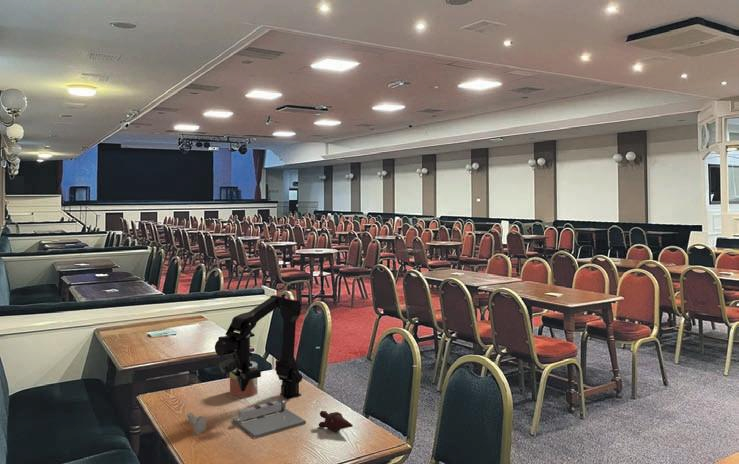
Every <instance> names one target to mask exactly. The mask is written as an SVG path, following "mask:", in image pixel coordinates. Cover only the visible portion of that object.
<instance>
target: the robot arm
mask: <svg viewBox="0 0 739 464" xmlns="http://www.w3.org/2000/svg"><path fill="white" fill-rule="evenodd" d="M277 308H279V312H280V316H281V318H282V321H283V325H282V327H283V328H282V341H281V342H282V343H281V345H282V346H281V356H280V358H279V360H276V361H275V369H274V371H275V372H276V373H275V374H276V376H277V377H278V379H279V380H280V381H281V385H280V393H279V395H280V396H281V397H283V398H285V399H287V400H289V399H293V398H296V397H301V396H302V394H301V393H300V383H301V382H302V381H303V375H302V374H301V373H300V371H298V363H297V361H296V358H295V343H296V342H295V341H296V327H297V326H296V325H297V321H298V319H299V318H300V316H301V311H302V303H301V302H300V301H299V300H297V299H292V298H291V299H290V298H285V297H283V296H281V295H277V294H274V295H270V297H268V298H267V299H266V300H264V302H262V303H260V304H258V305H257V306H256V307H254V308H253V309H251V310H250V311H248V312H244V313H240V314H238V315H235V316H234V317H233V318H232V319H231V322H230V325H229V327H228V328H227V330H226V332H225V335H224V336H218V340H217V341H216V342H215V345H214V351H215V354H216V355H217V356H218V357H224V356H227V355H231V357H230V358H227V359H226V360H223V361H222V362H220V363H219V364H218V367H219V368H220V373H223V374H224V375H228V374H229V375H230V372H231V373H232V374H234V375H235V376H236V377H237V380H238V383H239V386H240V389H241V391H242V392H243V391H245V389H246V387H247V385H248V382H249V380H250V379H254V378H257V379H258V378H261V377H262V371H261V370H260V369H259V368H258V367H257V368H255V367H253V368H249V367H252V363H250V361H251V357H252V356H253V353H252V352H251V338H252V337H255V333H253V332H252V330H253V329H255V327H256V326H257V324H258V322H259V321H260V320H262V319H264V318H265V317H266V316H267V315H269V314H270V313H272V312H273V311H274V310H276V309H277ZM232 371H233V372H232Z"/></svg>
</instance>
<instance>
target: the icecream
mask: <svg viewBox="0 0 739 464" xmlns="http://www.w3.org/2000/svg"><path fill="white" fill-rule="evenodd" d="M319 416H320V417H321V418H323V419H324V421H319V423H318V426H319V428H320V429H324V428H325V429H326V428H327V430H328V431H330V432H332V433H335V434H336V433H338V432H339V431H341V430H343V429H349V428H353V426H354V425H353V424H352V423H351V422H349V421H348V420H347V419H346V418H344V417H343V414H342V413H341V412H339V411H334V412H330V413H328V412H327V410H325V411H324V410H321V411H320V412H319Z"/></svg>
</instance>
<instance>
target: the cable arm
mask: <svg viewBox="0 0 739 464" xmlns="http://www.w3.org/2000/svg"><path fill="white" fill-rule="evenodd" d="M286 406H287V405H286V400H285V399H278V400H274V401H268V402H265V403H263V404H255V405H253V406H251V407H247V408H242V409H239V410H237V417H238V419H239V420H241V421H243V420H247V419H250V418H254V417H258V416H262V415H265V414H269V413H273V412H277V411H280V410H285V409H287V408H286Z"/></svg>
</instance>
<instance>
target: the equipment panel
mask: <svg viewBox="0 0 739 464" xmlns="http://www.w3.org/2000/svg"><path fill="white" fill-rule="evenodd" d="M231 421H232V423H234V424H235V425H236V426H238V427H239V426H240V427H239V428H240V429H242V430H243V429H244V430H243V431H244V432H246V431H247V432H248V434H249V435H250V434H251V435H252V436H251V435H250V436H251V437H253V438H254V437H255V438H254V439H258V438H260V436H262V437H265V436H268V435H271V434H275V433H279V432H281V431H285V430H289V429H292V428H295V427H298V426H302V425H305V424H306V423H307V421H306V420H305V419H304V418H302V417H301V416H299V415H297V414H295V413H294V412H292V411H290V410H288V409H287V408H286V409H285V410H280V411H277V412H273V413H269V414H265V415H262V416H258V417H254V418H250V419H247V420H243V421H241V420H239V419H238V416H236V417H234V418H232V419H231ZM247 432H246V433H247ZM264 435H265V436H264ZM257 437H258V438H257Z"/></svg>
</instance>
